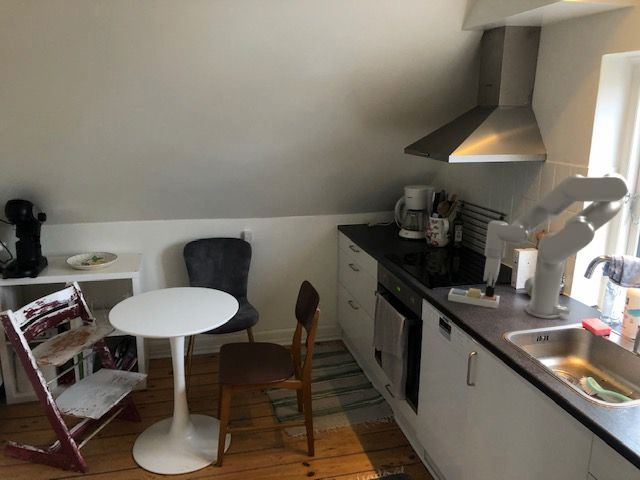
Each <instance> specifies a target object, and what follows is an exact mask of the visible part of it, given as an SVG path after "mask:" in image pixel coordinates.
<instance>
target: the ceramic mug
mask: <svg viewBox="0 0 640 480" xmlns="http://www.w3.org/2000/svg"><path fill="white" fill-rule="evenodd" d="M533 282H534V276H531V277H528V278H526V280H525V282H524V286H523V287H524V289H525V291H526V293H527V294H528V295H529V297H531V296H532V289H533Z"/></svg>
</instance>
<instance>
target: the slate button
mask: <svg viewBox="0 0 640 480" xmlns="http://www.w3.org/2000/svg"><path fill="white" fill-rule="evenodd" d="M453 289H454V291H453V294H456V295H462V296H465V291H467V290H466V289H459V288H453Z"/></svg>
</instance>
